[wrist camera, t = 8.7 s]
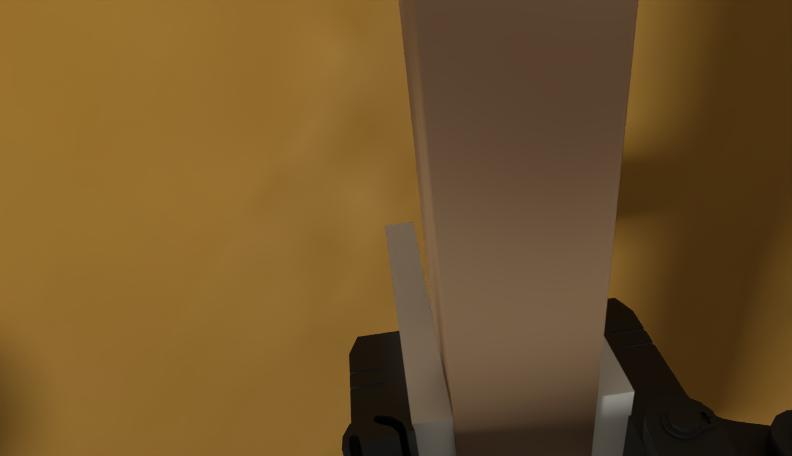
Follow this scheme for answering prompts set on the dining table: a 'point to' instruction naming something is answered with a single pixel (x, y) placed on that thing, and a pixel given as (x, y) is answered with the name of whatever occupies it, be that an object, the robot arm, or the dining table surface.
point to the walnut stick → (519, 207)
